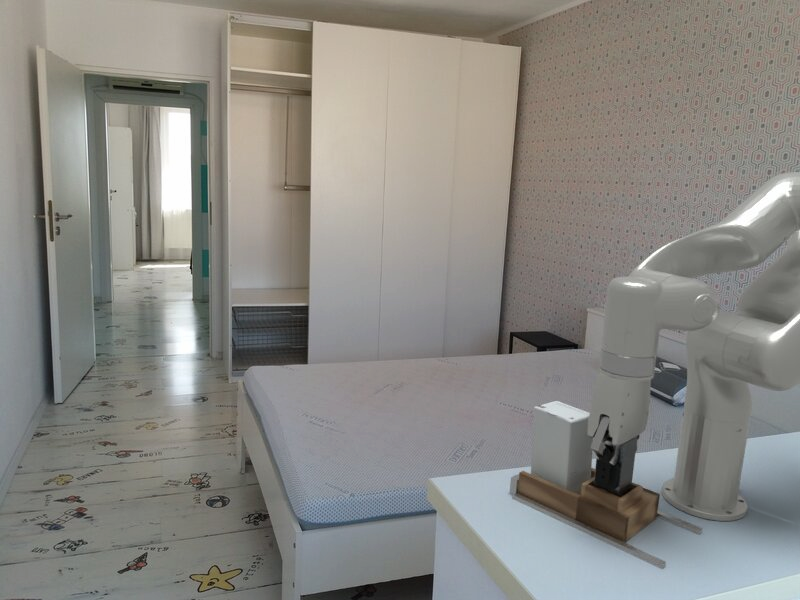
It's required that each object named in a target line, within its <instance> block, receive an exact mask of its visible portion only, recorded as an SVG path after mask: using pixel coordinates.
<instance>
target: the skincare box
mask: <svg viewBox="0 0 800 600" xmlns="http://www.w3.org/2000/svg"><path fill="white" fill-rule="evenodd" d="M589 415H590V411H585V410H583V409H580V408H577V407H574V406H572V405H570V404H567V403H563V401H562V402H561V401H559V400H555V401H551V402H547V403H544V404H541V405H537V406H536V405H535V406H534V407H533V414H532V436H531V437H532V438H531V459H530V460H531V462H530V474H532V475H534V476H537V477H539V478H541V479H544V480H546V481H548V482H551V483H553V484H555V485H558V486H560V487H562V488H565V489H567V490H569V491H572V492H574V493H576V494H579V495H581V487H582V483H584V482H586V481H588V480H589V479H591V468H593V466H592V462H593V450H592V449H591V444H592V442H593V439H594V438H590V437H589V436H588V434H587V429H588V421H589Z"/></svg>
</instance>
